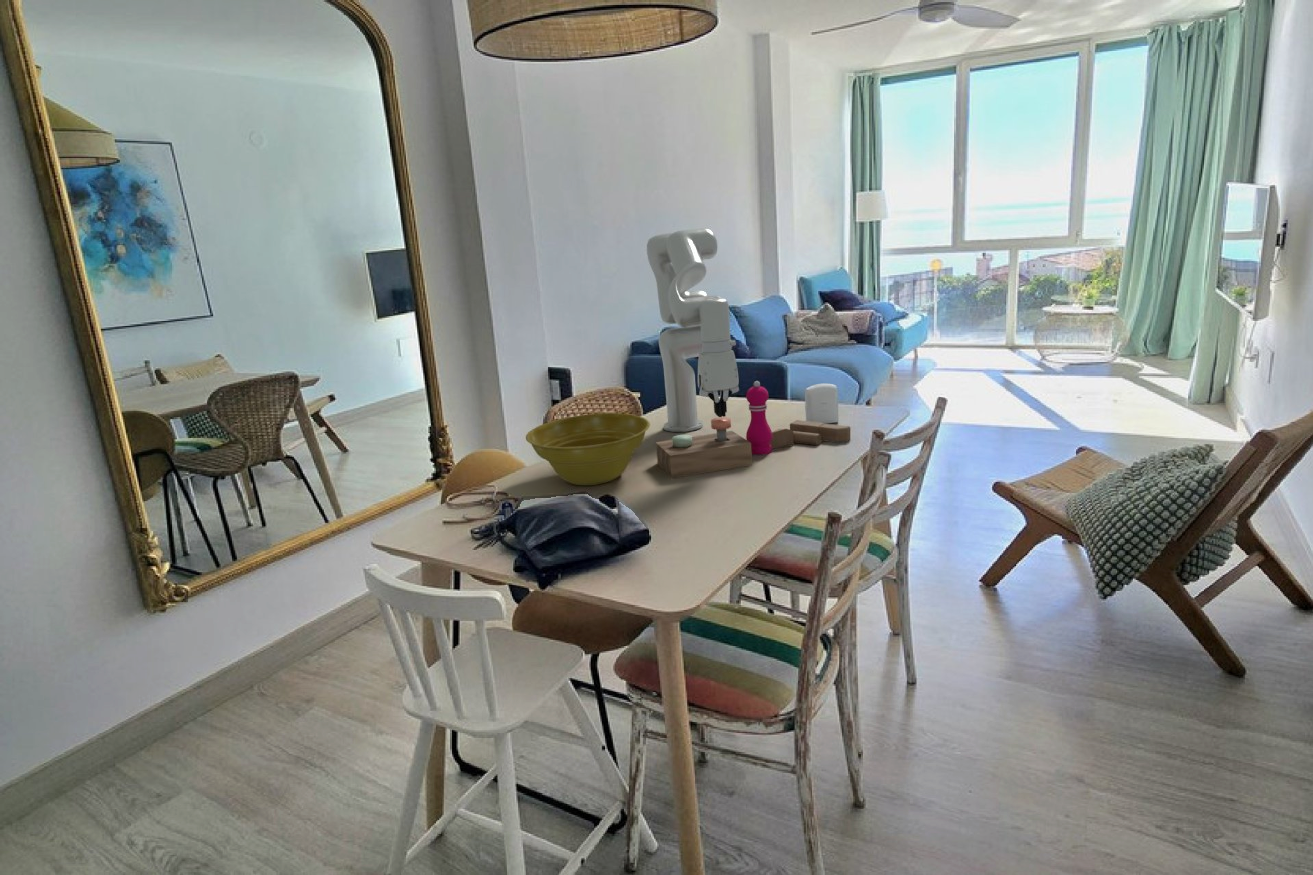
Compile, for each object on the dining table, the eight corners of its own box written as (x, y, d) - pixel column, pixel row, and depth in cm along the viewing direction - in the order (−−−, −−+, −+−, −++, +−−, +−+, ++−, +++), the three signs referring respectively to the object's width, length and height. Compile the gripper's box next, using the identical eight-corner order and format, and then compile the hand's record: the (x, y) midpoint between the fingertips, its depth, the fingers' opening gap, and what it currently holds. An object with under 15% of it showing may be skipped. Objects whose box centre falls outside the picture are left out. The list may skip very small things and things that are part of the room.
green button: (672, 463, 202) (669, 436, 200) (690, 460, 203) (688, 433, 201) (677, 468, 197) (675, 441, 195) (696, 465, 198) (694, 438, 196)
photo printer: (808, 427, 229) (807, 387, 226) (803, 423, 233) (802, 384, 230) (840, 423, 230) (840, 383, 227) (835, 419, 234) (834, 381, 231)
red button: (710, 445, 203) (708, 419, 201) (728, 443, 205) (726, 416, 203) (716, 450, 199) (714, 423, 197) (734, 447, 200) (733, 420, 198)
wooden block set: (793, 416, 222) (851, 421, 211) (794, 434, 224) (851, 441, 213) (764, 430, 210) (824, 437, 199) (765, 449, 211) (824, 457, 200)
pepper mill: (772, 455, 204) (769, 383, 199) (746, 455, 206) (742, 384, 200) (773, 447, 211) (770, 377, 206) (747, 448, 212) (744, 378, 207)
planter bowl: (589, 507, 176) (583, 452, 173) (507, 485, 198) (500, 436, 194) (679, 469, 199) (675, 420, 195) (596, 452, 220) (591, 408, 217)
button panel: (657, 463, 205) (655, 442, 204) (733, 451, 211) (732, 430, 209) (671, 478, 192) (670, 455, 191) (752, 464, 197) (750, 443, 196)
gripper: (738, 342, 200) (742, 409, 204) (684, 348, 196) (689, 417, 201) (748, 345, 193) (752, 414, 197) (693, 352, 189) (698, 422, 194)
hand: (720, 415), depth 199 cm, fingers closed
